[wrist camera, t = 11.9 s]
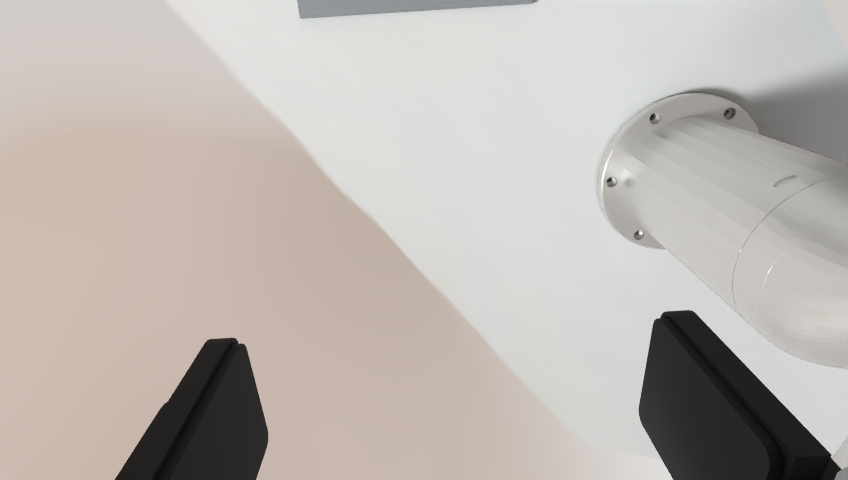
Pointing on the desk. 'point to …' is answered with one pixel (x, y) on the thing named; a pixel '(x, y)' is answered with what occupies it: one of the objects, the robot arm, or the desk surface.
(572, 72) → the desk surface
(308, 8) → the slate mat
